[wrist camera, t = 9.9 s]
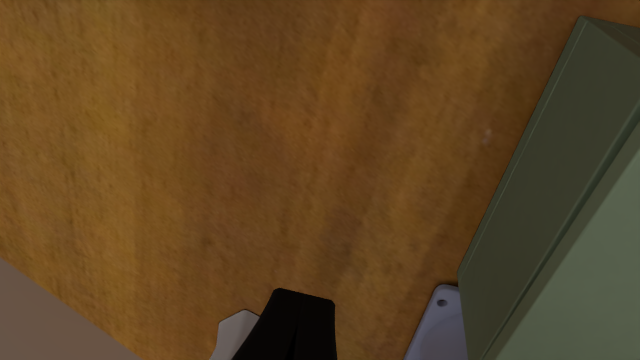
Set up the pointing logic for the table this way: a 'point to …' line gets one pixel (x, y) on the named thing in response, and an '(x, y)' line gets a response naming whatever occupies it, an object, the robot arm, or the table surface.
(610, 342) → the lid
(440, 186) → the table surface
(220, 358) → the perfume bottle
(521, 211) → the chest
